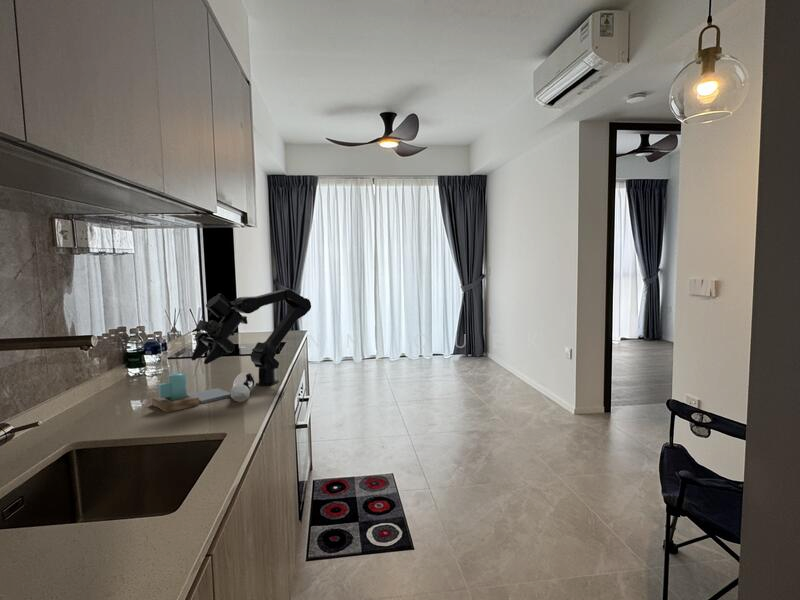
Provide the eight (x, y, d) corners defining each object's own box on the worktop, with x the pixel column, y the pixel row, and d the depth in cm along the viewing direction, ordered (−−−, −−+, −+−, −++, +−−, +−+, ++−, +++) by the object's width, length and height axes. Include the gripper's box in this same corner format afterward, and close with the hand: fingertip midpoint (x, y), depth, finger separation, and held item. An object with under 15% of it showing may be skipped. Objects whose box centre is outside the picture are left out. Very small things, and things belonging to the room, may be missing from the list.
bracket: (182, 398, 160) (182, 391, 160) (198, 404, 152) (198, 397, 152) (152, 405, 153) (151, 397, 152) (167, 412, 145) (167, 404, 145)
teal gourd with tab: (183, 401, 157) (181, 371, 156) (190, 404, 153) (188, 374, 153) (157, 406, 151) (155, 376, 150) (163, 410, 147) (162, 379, 146)
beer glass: (247, 380, 155) (251, 368, 169) (226, 387, 153) (232, 375, 168) (253, 399, 156) (257, 386, 170) (233, 406, 155) (238, 392, 169)
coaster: (216, 390, 169) (216, 388, 169) (232, 396, 162) (232, 393, 162) (186, 397, 161) (186, 394, 161) (201, 403, 153) (201, 400, 153)
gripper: (198, 309, 166) (168, 344, 159) (225, 313, 154) (193, 350, 147) (220, 329, 173) (192, 363, 166) (247, 333, 161) (218, 370, 153)
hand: (198, 361), depth 158 cm, fingers open, 9 cm apart
